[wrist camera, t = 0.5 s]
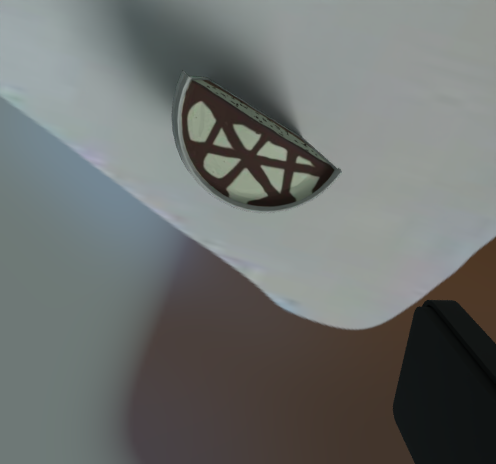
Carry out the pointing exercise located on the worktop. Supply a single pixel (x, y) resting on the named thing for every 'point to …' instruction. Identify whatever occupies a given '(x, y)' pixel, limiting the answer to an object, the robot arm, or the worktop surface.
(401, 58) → the worktop surface
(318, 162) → the food container
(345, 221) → the worktop surface
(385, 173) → the worktop surface
